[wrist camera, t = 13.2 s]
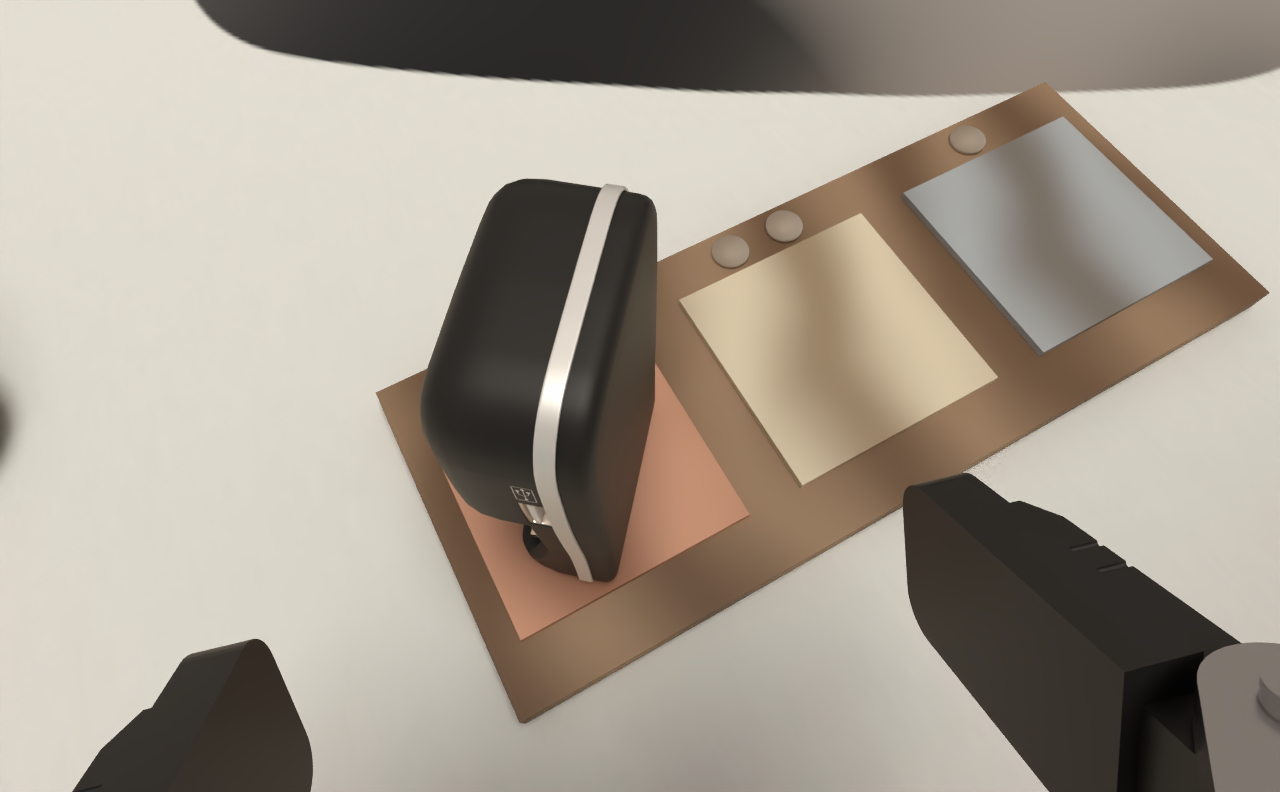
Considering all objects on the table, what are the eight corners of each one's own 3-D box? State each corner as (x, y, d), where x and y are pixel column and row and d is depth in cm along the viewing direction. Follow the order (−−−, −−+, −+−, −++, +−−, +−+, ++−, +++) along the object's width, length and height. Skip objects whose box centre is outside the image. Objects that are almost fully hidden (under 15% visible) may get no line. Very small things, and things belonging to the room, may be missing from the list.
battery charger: (550, 371, 26) (483, 126, 16) (658, 391, 26) (662, 153, 15) (494, 570, 23) (367, 429, 13) (614, 594, 23) (583, 470, 13)
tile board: (1034, 100, 33) (1048, 76, 32) (1249, 307, 28) (1276, 288, 27) (385, 404, 27) (372, 389, 26) (525, 723, 23) (518, 722, 22)
